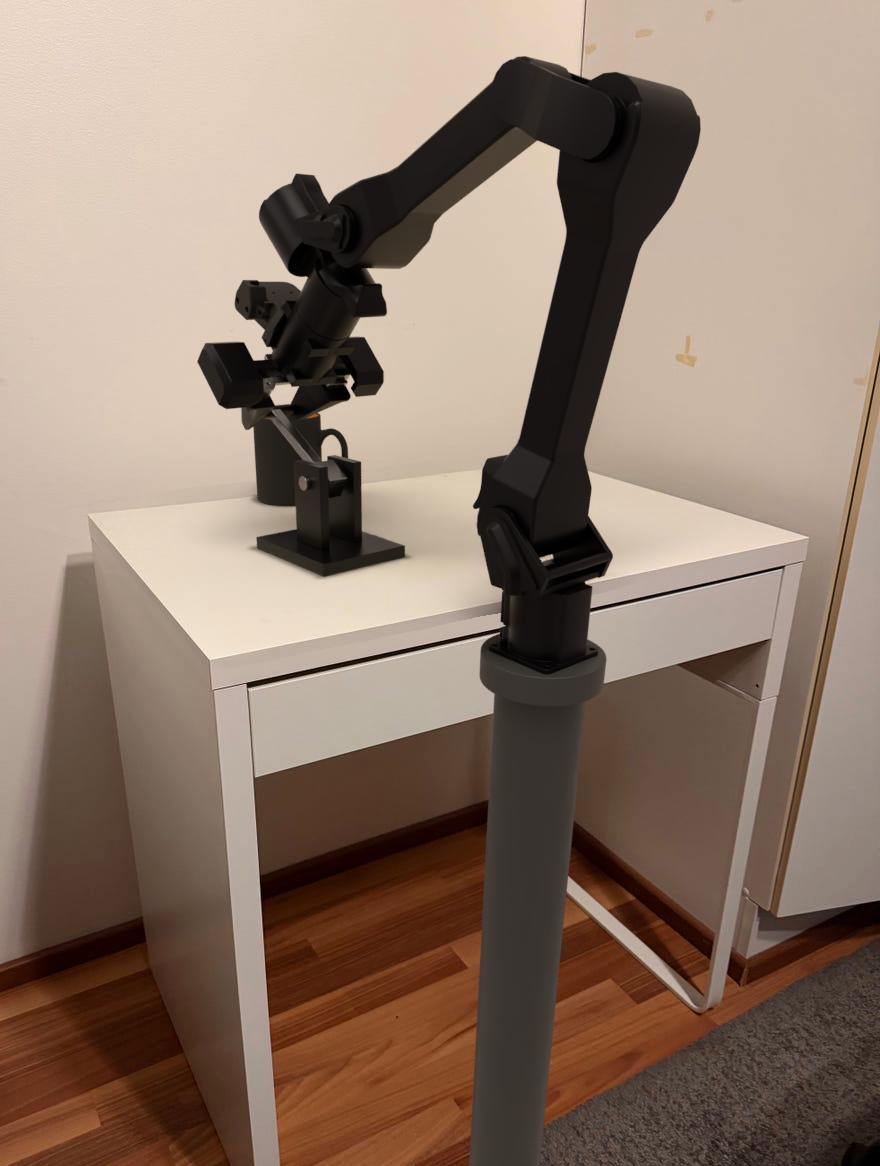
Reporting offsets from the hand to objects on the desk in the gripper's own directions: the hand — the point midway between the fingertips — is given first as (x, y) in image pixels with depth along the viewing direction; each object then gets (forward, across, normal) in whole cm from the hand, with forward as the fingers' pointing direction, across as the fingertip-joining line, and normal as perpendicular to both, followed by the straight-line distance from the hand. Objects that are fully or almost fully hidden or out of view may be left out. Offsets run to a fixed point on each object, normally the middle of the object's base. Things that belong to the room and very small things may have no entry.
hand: (267, 423), depth 92 cm
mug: (+16, -11, +1) cm, 19 cm away
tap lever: (-2, 0, +6) cm, 6 cm away
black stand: (0, 0, +16) cm, 16 cm away
